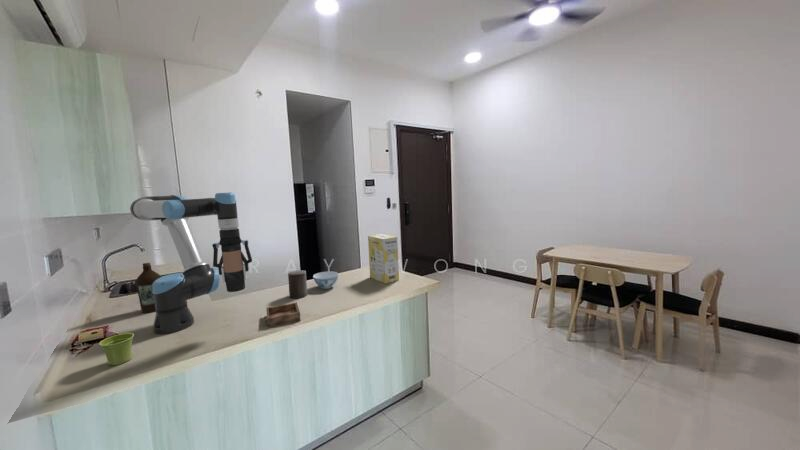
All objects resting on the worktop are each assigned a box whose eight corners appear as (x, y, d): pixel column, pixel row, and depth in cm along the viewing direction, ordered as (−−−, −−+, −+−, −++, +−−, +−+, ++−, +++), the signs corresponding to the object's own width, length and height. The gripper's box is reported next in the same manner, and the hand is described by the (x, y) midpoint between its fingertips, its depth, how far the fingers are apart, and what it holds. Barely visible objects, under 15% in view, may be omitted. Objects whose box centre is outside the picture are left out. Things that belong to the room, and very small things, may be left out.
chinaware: (321, 293, 180) (320, 280, 179) (309, 287, 191) (308, 275, 190) (343, 286, 190) (342, 274, 189) (331, 281, 201) (330, 270, 200)
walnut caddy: (267, 327, 138) (266, 318, 137) (267, 315, 151) (266, 307, 150) (300, 320, 143) (299, 312, 143) (297, 310, 156) (296, 302, 156)
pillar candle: (293, 299, 170) (291, 273, 169) (287, 295, 178) (285, 269, 176) (310, 295, 177) (308, 270, 175) (303, 291, 184) (301, 266, 182)
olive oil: (143, 308, 167) (136, 262, 164) (167, 304, 171) (161, 259, 168) (137, 315, 157) (130, 267, 154) (163, 310, 162) (156, 263, 159)
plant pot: (106, 359, 116) (103, 337, 115) (139, 351, 121) (136, 330, 120) (99, 371, 108) (95, 348, 107) (134, 362, 113) (131, 340, 112)
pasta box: (398, 280, 199) (397, 236, 196) (385, 283, 193) (383, 239, 189) (383, 274, 214) (381, 233, 210) (370, 277, 207) (367, 235, 204)
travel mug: (249, 287, 138) (244, 243, 136) (232, 293, 132) (226, 246, 129) (239, 285, 142) (234, 242, 140) (222, 290, 136) (217, 245, 133)
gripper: (199, 232, 127) (206, 286, 129) (254, 227, 134) (260, 278, 137) (203, 230, 133) (209, 281, 136) (255, 225, 141) (260, 274, 144)
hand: (235, 280), depth 137 cm, fingers closed on travel mug, 8 cm apart
